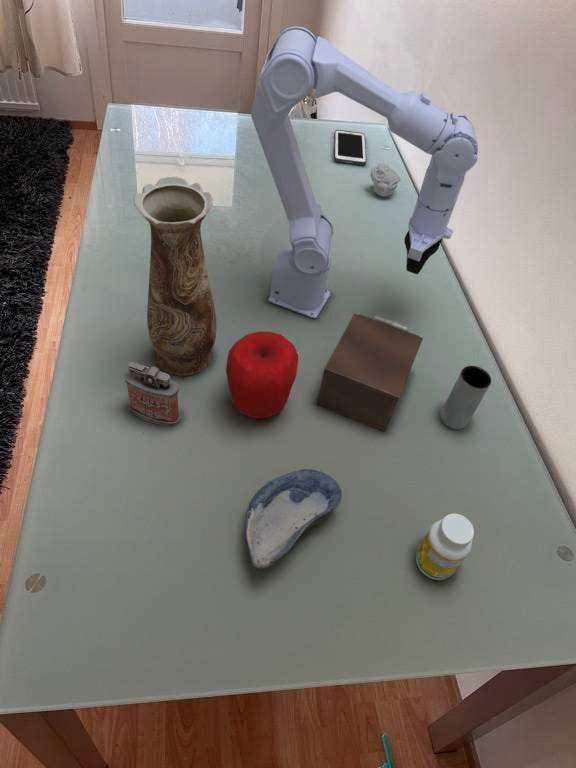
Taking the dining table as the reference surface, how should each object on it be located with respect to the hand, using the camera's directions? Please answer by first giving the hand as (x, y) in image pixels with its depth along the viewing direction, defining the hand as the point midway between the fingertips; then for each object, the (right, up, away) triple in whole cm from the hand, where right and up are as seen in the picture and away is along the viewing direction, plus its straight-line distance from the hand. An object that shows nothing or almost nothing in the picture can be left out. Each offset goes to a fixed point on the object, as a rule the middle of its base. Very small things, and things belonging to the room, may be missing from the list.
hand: (412, 270), depth 101 cm
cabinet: (-9, -20, -5) cm, 23 cm away
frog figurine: (0, +24, +34) cm, 41 cm away
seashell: (-21, -39, -22) cm, 49 cm away
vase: (-39, -15, -4) cm, 42 cm away
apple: (-26, -23, -9) cm, 36 cm away
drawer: (-7, -17, -3) cm, 19 cm away
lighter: (-42, -24, -12) cm, 49 cm away
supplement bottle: (-2, -43, -23) cm, 49 cm away
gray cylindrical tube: (+5, -25, -7) cm, 26 cm away
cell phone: (-6, +39, +45) cm, 60 cm away
